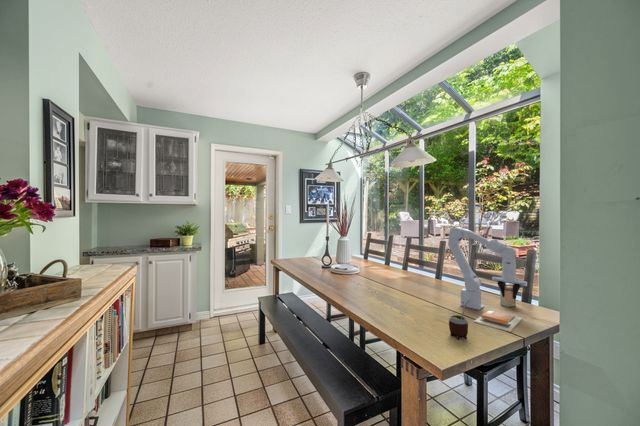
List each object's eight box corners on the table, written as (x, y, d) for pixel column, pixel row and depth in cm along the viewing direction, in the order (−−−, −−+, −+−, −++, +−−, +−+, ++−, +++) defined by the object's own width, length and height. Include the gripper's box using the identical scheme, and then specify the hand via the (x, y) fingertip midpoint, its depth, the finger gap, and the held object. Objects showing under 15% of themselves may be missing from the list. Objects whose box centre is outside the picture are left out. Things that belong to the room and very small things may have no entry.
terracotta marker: (503, 300, 134) (503, 287, 134) (505, 299, 137) (505, 285, 137) (513, 302, 131) (512, 288, 131) (515, 301, 134) (515, 287, 134)
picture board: (474, 322, 124) (474, 320, 124) (488, 311, 137) (488, 310, 137) (510, 332, 114) (510, 330, 114) (522, 319, 127) (522, 317, 127)
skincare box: (507, 307, 143) (507, 284, 143) (499, 304, 147) (499, 282, 147) (516, 305, 145) (516, 283, 145) (508, 303, 149) (508, 281, 149)
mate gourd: (448, 337, 109) (447, 301, 109) (450, 330, 116) (450, 296, 116) (468, 342, 105) (468, 304, 105) (470, 334, 112) (469, 299, 112)
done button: (481, 317, 125) (481, 314, 125) (484, 315, 127) (484, 312, 127) (506, 324, 117) (506, 321, 117) (509, 321, 120) (509, 318, 120)
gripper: (489, 269, 137) (490, 295, 137) (524, 274, 126) (525, 302, 126) (494, 267, 141) (494, 293, 141) (528, 272, 130) (528, 299, 130)
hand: (509, 297), depth 134 cm, fingers closed on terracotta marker, 4 cm apart
